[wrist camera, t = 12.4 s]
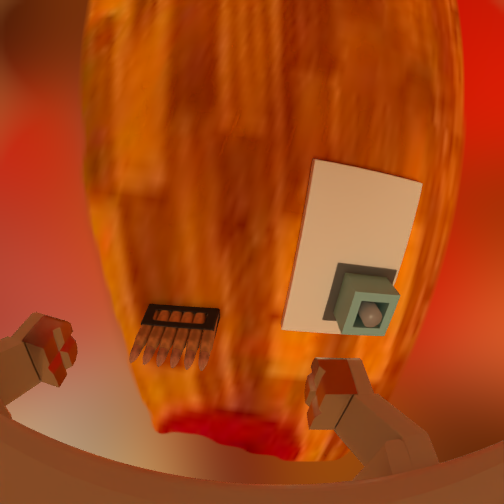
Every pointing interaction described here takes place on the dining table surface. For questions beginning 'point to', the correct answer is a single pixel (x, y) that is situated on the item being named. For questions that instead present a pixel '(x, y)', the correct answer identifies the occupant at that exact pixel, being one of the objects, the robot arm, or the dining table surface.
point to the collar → (364, 290)
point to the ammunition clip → (176, 334)
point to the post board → (347, 240)
